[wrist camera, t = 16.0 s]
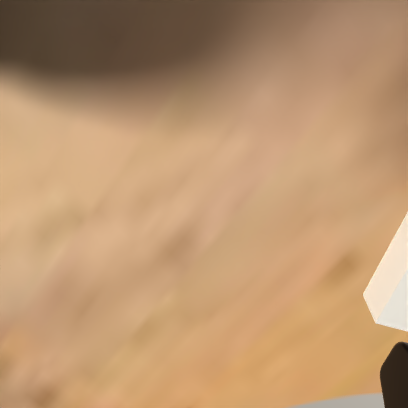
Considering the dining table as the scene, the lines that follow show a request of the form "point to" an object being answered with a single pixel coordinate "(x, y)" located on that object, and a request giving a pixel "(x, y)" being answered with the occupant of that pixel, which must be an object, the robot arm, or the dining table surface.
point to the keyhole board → (391, 283)
